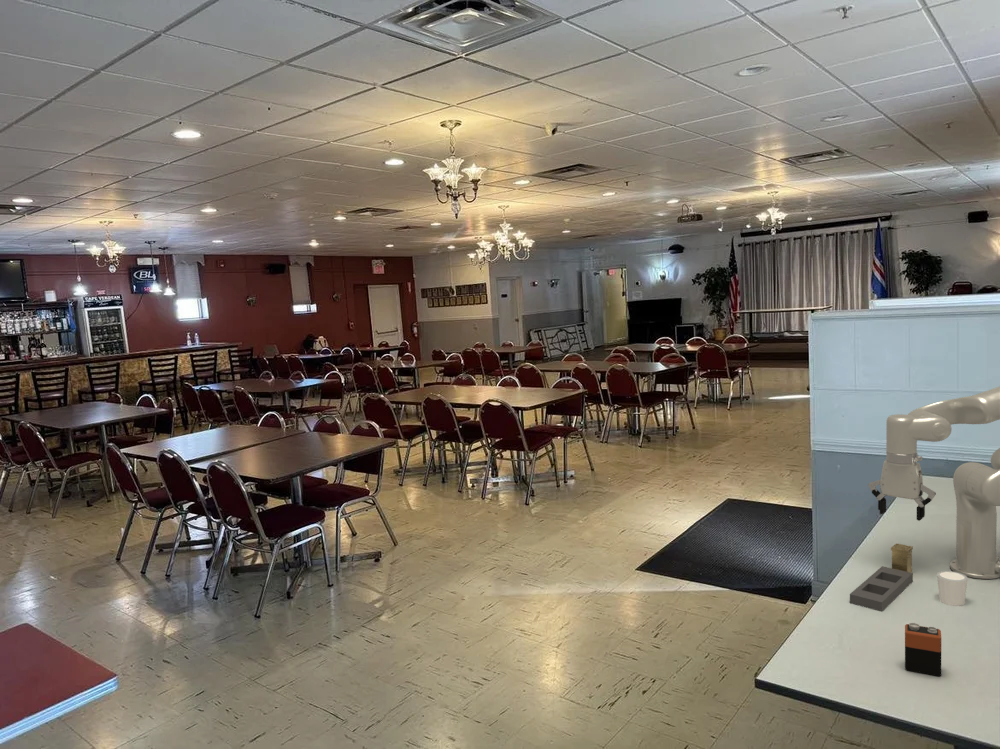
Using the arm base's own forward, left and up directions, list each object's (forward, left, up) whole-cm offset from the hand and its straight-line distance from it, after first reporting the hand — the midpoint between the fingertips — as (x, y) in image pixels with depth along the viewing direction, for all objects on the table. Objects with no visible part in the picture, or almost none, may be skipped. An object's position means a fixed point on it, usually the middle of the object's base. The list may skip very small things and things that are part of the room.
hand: (901, 516), depth 201 cm
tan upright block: (0, 0, -17) cm, 17 cm away
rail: (0, +16, -17) cm, 24 cm away
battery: (-20, +51, -18) cm, 57 cm away
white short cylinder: (-16, +11, -18) cm, 26 cm away
